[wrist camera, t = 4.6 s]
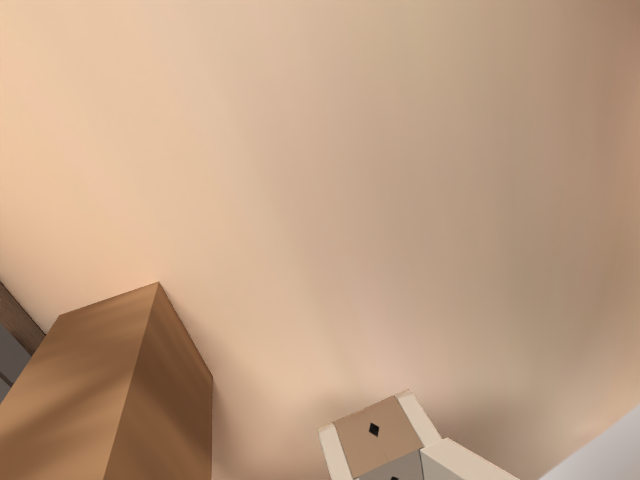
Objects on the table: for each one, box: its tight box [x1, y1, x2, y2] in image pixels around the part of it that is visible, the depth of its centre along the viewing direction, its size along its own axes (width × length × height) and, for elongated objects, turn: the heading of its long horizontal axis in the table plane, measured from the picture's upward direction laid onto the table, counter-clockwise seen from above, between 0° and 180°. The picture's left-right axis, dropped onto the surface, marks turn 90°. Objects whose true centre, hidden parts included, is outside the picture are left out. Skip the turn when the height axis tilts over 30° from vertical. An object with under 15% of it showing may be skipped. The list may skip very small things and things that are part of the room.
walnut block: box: [0, 282, 212, 480], centre depth 11 cm, size 4×6×10 cm, turn 15°
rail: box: [0, 283, 45, 384], centre depth 14 cm, size 1×14×1 cm, turn 15°
